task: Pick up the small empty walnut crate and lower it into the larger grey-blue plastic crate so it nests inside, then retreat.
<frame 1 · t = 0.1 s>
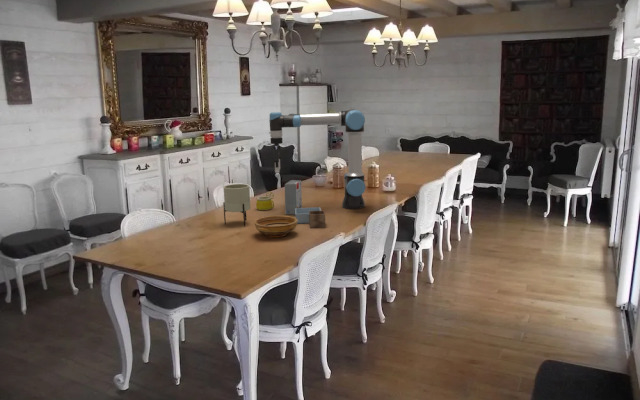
hand: (277, 170, 340), 28 cm above the table, fingers open, 13 cm apart
tan woven oval bowl: (276, 234, 298), on the table
walnut crate: (317, 225, 314), on the table
mug: (265, 209, 360), on the table
hard drive box: (293, 212, 349), on the table
planter: (239, 223, 324), on the table
grey crate: (308, 220, 327), on the table
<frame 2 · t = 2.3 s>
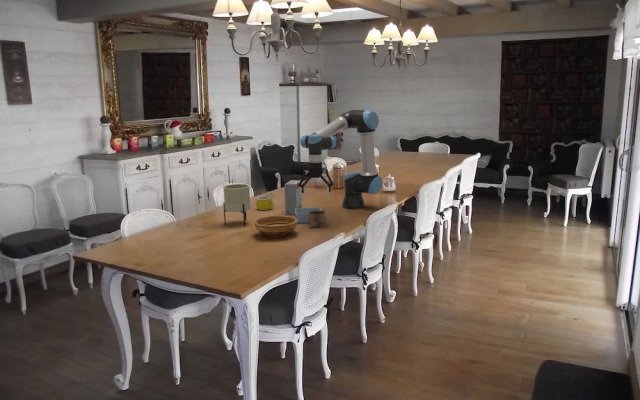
hand: (316, 198, 310), 17 cm above the table, fingers open, 13 cm apart
nothing on the table moved.
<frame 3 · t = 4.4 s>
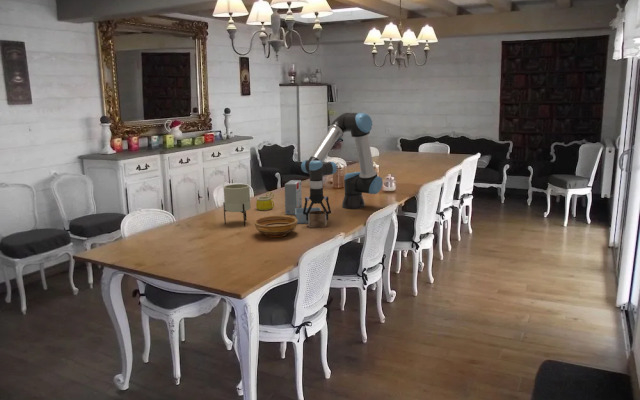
hand: (317, 225, 314), 0 cm above the table, fingers closed on walnut crate, 9 cm apart
walnut crate: (317, 225, 314), on the table, touching gripper
everything else where it was.
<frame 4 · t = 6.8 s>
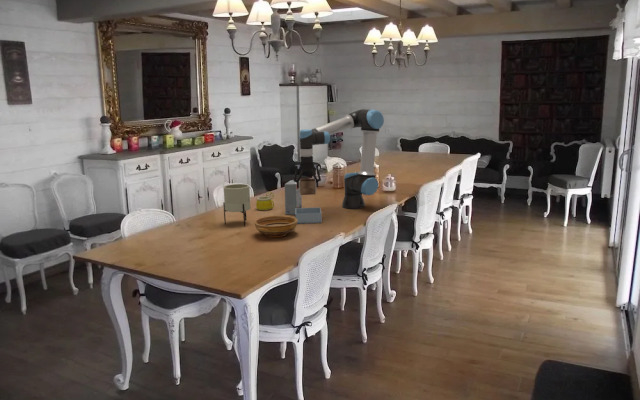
hand: (307, 192, 323), 17 cm above the table, fingers closed on walnut crate, 9 cm apart
walnut crate: (307, 193, 324), point 17 cm above the table, touching gripper
everything else where it was.
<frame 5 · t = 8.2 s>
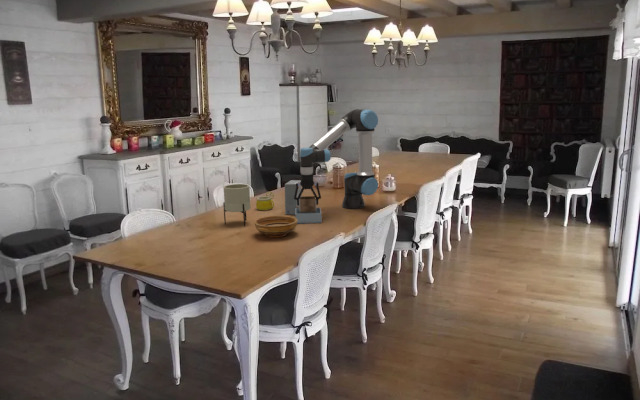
hand: (307, 210, 326), 6 cm above the table, fingers closed on walnut crate, 9 cm apart
walnut crate: (307, 210, 326), point 6 cm above the table, touching gripper
everything else where it was.
when the fingers open (3 cm above the table, at t = 9.3 s): walnut crate drops 2 cm, resting on grey crate.
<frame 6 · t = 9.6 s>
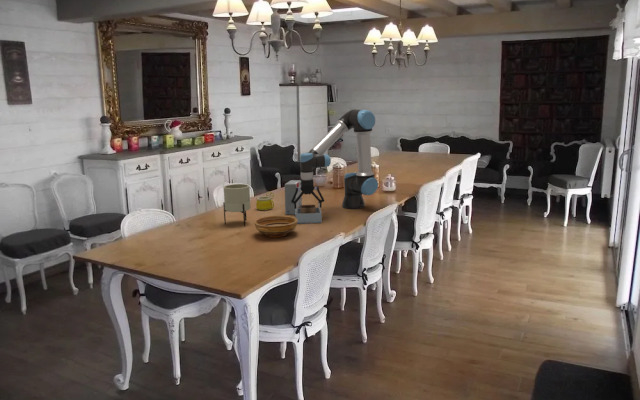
hand: (308, 213, 326), 4 cm above the table, fingers open, 13 cm apart
walnut crate: (308, 219, 327), point 1 cm above the table, touching grey crate
everything else where it was.
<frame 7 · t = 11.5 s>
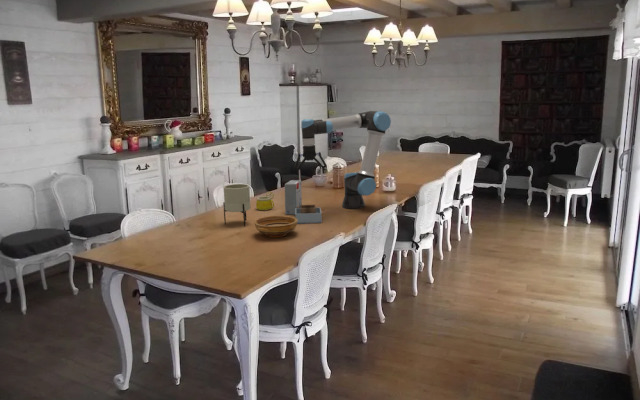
hand: (311, 179, 329), 24 cm above the table, fingers open, 13 cm apart
nothing on the table moved.
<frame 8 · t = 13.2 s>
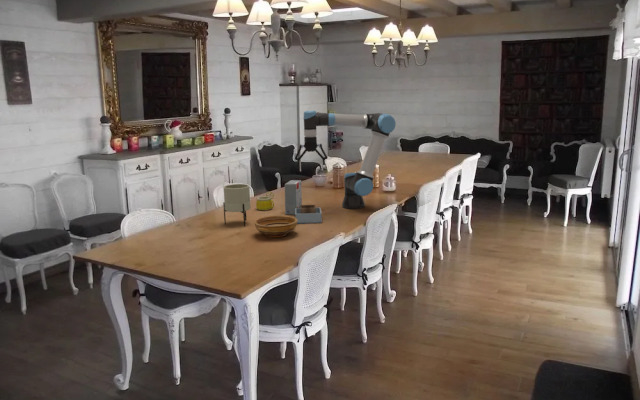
hand: (311, 170, 332), 29 cm above the table, fingers open, 13 cm apart
nothing on the table moved.
at the end: walnut crate 0.1 cm off-centre on the grey crate, point 0.6 cm above the grey crate's base; walnut crate tilted 0°; the gripper is holding nothing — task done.
